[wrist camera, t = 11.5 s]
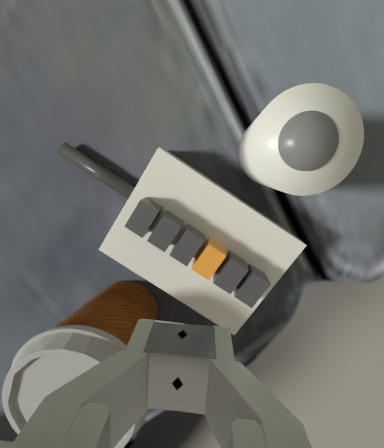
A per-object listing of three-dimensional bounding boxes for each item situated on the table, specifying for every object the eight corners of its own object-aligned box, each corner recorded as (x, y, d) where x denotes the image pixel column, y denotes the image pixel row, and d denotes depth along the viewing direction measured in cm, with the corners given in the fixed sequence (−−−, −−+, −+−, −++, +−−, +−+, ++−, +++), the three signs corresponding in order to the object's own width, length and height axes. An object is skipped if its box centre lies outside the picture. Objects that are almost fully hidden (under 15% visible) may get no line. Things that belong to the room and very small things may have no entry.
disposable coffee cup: (129, 247, 26) (62, 311, 15) (191, 314, 27) (175, 423, 16) (68, 301, 28) (-35, 396, 16) (128, 362, 29) (71, 492, 18)
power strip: (231, 311, 27) (236, 350, 21) (47, 193, 26) (-2, 201, 20) (291, 233, 25) (316, 253, 19) (93, 101, 24) (53, 79, 18)
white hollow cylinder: (278, 198, 24) (317, 216, 15) (224, 161, 24) (232, 158, 15) (320, 140, 23) (390, 123, 14) (264, 101, 22) (298, 58, 14)
